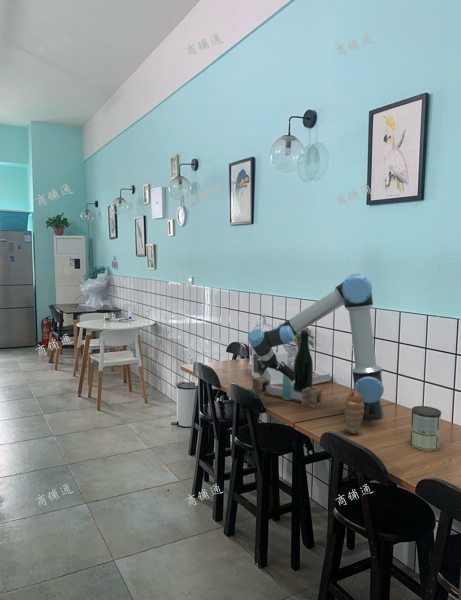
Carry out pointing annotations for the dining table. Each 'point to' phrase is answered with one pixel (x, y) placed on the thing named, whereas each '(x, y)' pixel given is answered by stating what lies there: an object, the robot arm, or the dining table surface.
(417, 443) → the coffee can
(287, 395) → the grey and teal t-shape
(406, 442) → the dining table surface
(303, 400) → the sleeve
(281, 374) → the gable box
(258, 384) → the socket block
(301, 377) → the beer bottle
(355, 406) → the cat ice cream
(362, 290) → the robot arm
